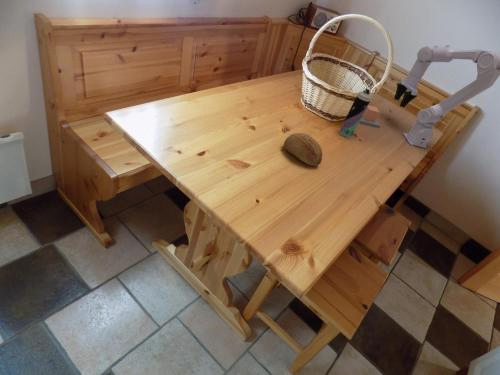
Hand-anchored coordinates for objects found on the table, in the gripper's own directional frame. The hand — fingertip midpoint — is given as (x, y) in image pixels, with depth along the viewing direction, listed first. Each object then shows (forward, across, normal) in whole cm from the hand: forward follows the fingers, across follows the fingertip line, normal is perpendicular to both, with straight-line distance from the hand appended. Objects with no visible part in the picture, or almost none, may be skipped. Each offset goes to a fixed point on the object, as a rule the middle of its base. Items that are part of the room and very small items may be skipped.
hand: (398, 103), depth 149 cm
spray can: (+10, +24, -28) cm, 38 cm away
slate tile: (+10, +5, -13) cm, 17 cm away
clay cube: (+9, +5, -13) cm, 16 cm away
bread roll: (+10, +49, -51) cm, 71 cm away
